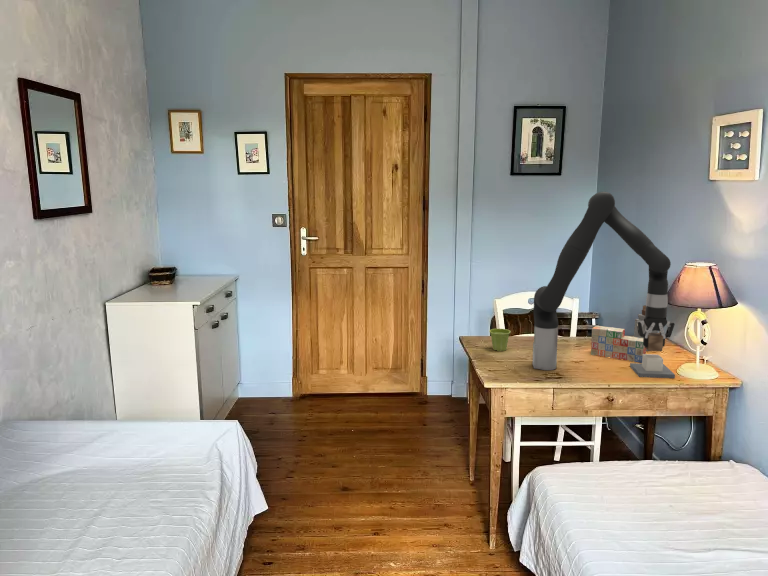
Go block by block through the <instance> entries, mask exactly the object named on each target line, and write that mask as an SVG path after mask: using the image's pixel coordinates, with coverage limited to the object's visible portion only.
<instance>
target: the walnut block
mask: <svg viewBox="0 0 768 576" xmlns="http://www.w3.org/2000/svg"><path fill="white" fill-rule="evenodd" d="M645 348H646V347H645ZM663 348H664V346H663V336H662V335H661V334H660V333H659V332H658V333H650V334H649V336H648V348H646V349H647V350H648V351H647V352H663Z"/></svg>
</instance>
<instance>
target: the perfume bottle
mask: <svg viewBox="0 0 768 576" xmlns="http://www.w3.org/2000/svg"><path fill="white" fill-rule="evenodd" d="M645 311H646V309H645V310H643V309H641V313H639V314H637V317H638V318H635V319H634V331H633V332H634V333H633V337H638V338H643V337H641V336H640V335H639V334H638V329H637V324H636V322H637V321H644V319H645ZM646 327H647V326H646V325H645V323H644V324H643V326H642V330H643V334H644V332H645V329H646ZM651 333H659V331H656V330H655V331H651ZM646 351H647V352H649V351H648V350H647V349H646Z"/></svg>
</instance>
